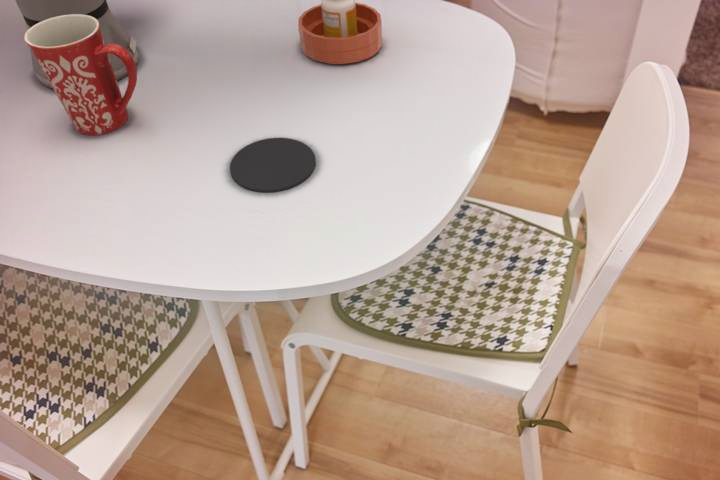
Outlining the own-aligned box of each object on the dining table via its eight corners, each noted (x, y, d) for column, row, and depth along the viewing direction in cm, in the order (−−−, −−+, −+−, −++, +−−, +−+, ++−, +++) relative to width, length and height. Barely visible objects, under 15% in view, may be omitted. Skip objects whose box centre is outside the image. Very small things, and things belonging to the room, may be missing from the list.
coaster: (216, 159, 80) (215, 156, 80) (290, 130, 85) (290, 128, 84) (253, 204, 74) (253, 201, 74) (331, 170, 78) (331, 168, 78)
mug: (53, 135, 84) (7, 42, 74) (90, 100, 90) (51, 10, 80) (136, 147, 82) (100, 53, 72) (168, 110, 88) (138, 19, 78)
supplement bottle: (353, 33, 103) (349, -26, 96) (361, 48, 100) (358, -12, 92) (322, 38, 102) (315, -21, 95) (329, 53, 98) (323, -7, 91)
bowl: (287, 42, 102) (283, 15, 99) (354, 20, 107) (353, -6, 104) (327, 75, 95) (324, 47, 91) (397, 50, 100) (397, 23, 97)
